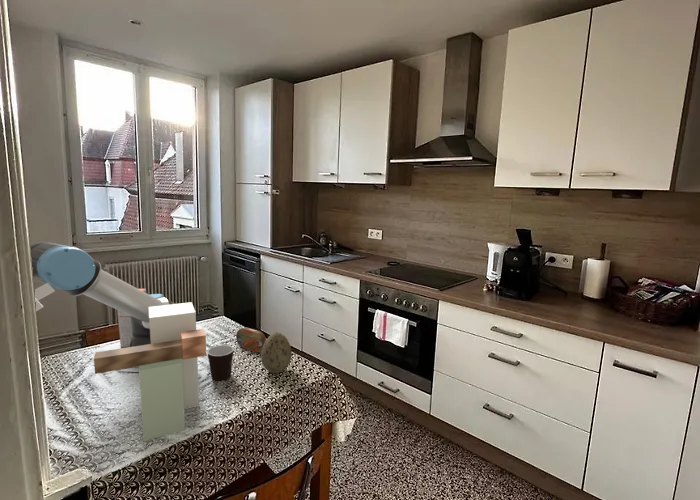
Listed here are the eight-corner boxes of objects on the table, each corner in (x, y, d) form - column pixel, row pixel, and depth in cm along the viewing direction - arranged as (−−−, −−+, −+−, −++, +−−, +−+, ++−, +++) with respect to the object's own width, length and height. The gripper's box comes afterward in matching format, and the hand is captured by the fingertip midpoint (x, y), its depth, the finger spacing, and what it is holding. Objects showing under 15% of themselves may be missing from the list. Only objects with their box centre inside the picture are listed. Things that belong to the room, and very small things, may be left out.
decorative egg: (284, 381, 132) (284, 340, 129) (256, 376, 134) (255, 336, 132) (295, 366, 142) (296, 329, 140) (268, 362, 145) (268, 325, 142)
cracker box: (135, 334, 166) (132, 288, 162) (149, 334, 166) (147, 288, 163) (119, 348, 152) (115, 298, 148) (134, 348, 153) (131, 298, 149)
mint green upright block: (143, 440, 100) (138, 366, 96) (143, 421, 108) (138, 352, 104) (184, 430, 105) (181, 359, 101) (181, 412, 113) (178, 346, 109)
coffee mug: (226, 384, 128) (225, 357, 126) (203, 381, 130) (202, 354, 128) (242, 368, 139) (242, 343, 138) (221, 365, 141) (220, 340, 139)
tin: (235, 345, 158) (235, 326, 157) (241, 343, 161) (241, 324, 160) (262, 355, 151) (261, 335, 149) (267, 352, 153) (267, 332, 152)
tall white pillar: (155, 415, 111) (149, 317, 105) (154, 398, 119) (148, 306, 114) (199, 405, 116) (195, 312, 111) (195, 389, 125) (191, 302, 119)
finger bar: (94, 374, 94) (92, 352, 93) (97, 365, 98) (95, 344, 97) (206, 355, 106) (205, 335, 105) (203, 348, 110) (203, 328, 109)
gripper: (-19, 339, 98) (65, 292, 104) (-64, 386, 76) (45, 323, 83) (-43, 317, 95) (45, 270, 101) (-97, 360, 73) (19, 296, 80)
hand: (45, 294), depth 92 cm, fingers open, 13 cm apart
